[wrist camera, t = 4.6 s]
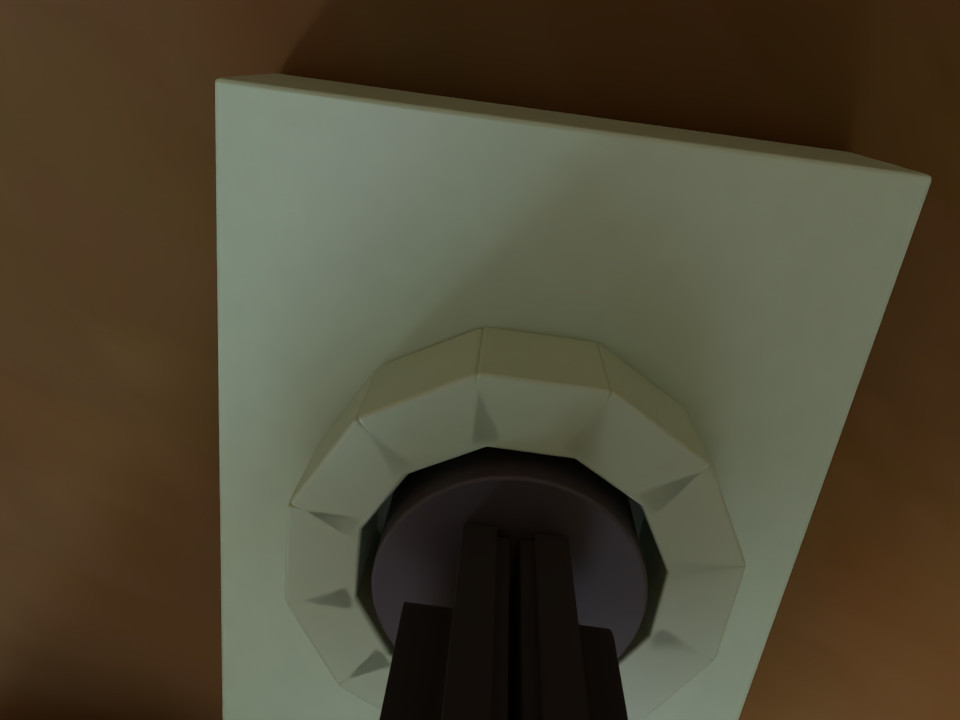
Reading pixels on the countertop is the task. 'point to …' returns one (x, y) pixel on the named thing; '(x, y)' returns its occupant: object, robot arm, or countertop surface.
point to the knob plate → (527, 360)
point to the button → (511, 534)
